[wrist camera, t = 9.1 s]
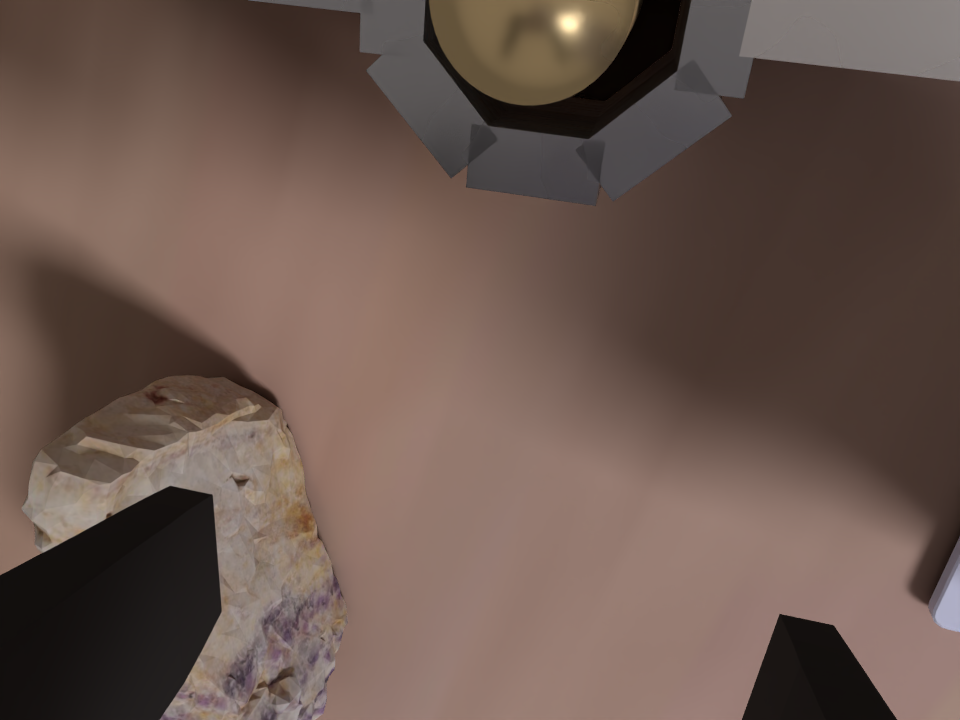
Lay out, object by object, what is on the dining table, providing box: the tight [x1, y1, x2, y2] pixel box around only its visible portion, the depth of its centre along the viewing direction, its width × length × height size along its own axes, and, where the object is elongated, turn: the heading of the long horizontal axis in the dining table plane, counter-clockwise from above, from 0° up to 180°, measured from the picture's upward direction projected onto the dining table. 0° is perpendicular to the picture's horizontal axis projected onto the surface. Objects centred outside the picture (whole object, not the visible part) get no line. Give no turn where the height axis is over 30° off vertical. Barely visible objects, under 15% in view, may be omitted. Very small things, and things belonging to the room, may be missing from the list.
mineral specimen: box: [22, 375, 348, 720], centre depth 21 cm, size 13×7×6 cm, turn 11°
